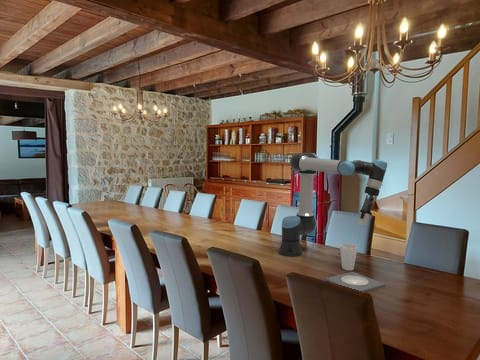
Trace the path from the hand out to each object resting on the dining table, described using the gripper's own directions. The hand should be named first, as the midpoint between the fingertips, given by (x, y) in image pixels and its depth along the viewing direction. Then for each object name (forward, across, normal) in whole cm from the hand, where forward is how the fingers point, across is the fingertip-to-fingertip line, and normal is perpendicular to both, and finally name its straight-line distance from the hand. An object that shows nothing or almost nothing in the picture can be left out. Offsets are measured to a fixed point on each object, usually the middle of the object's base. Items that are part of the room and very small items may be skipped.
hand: (361, 224), depth 192 cm
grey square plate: (+28, -16, -7) cm, 33 cm away
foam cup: (+26, +4, +1) cm, 27 cm away
